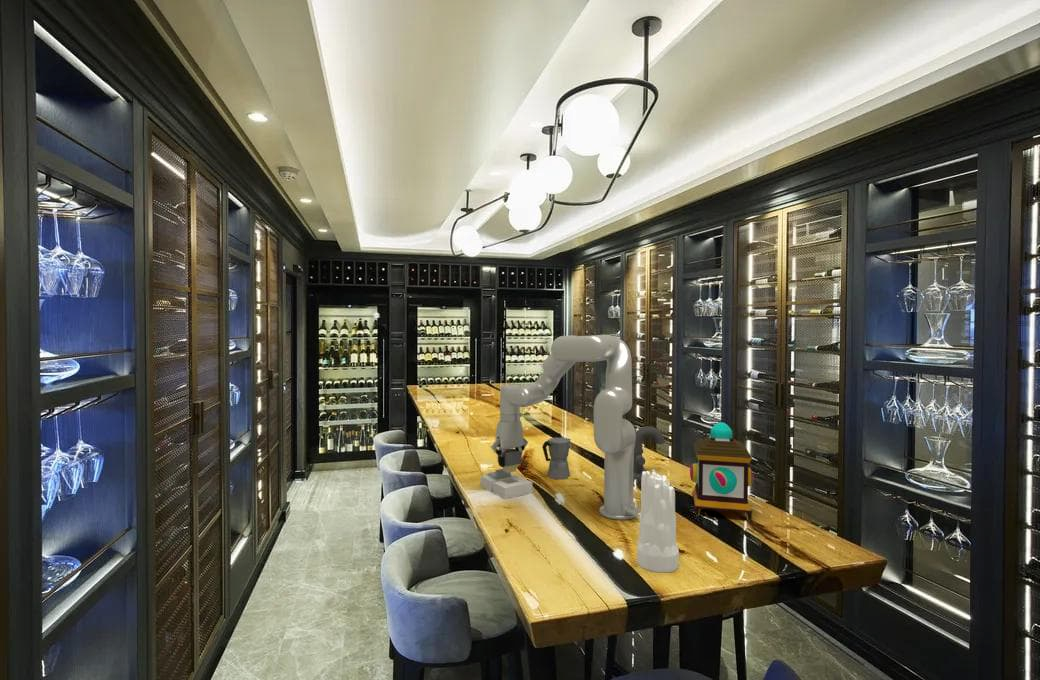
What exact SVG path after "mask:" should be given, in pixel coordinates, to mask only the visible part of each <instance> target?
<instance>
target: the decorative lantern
mask: <svg viewBox="0 0 1040 680" xmlns="http://www.w3.org/2000/svg"><path fill="white" fill-rule="evenodd" d="M693 447H694V452H695V456H696V462H695V463H692V464H691V465H690V468H689V476H690V477H689V478H690V480H691V482H692V483H695V484H694V485H695V486H694V487H693V489H692V492H691V493H692V499H693V505H694V514H695V516H696V517H699V516H700V512H701V510H702V509H703V510H712V511H713V510H715V511H725V512H726V511H727V512H737V513H744V514H745V515H746V520H747V521H748V522H750V521H752V517H753V510H752V507H751V505H750V503H749V498H748V497H749V488H750V486H752V484H753V483H754V474H753V470H752V468H751V467H749V464H750V463H751V461H752V455H751V454H750V452H749V450H748V449H747V447H746V446H745V445H744V443H742V442H741V441H740V440H737V439H735V438H734V437H733V430H732V429H731V427H730V426H729V425H728V424H727V423H725V422H717V423H715V424H714V425H713V426H712V427H711V428H710V434H709V435H707V436H706V437H704V438H698V439H697V440H695V441H694V443H693Z"/></svg>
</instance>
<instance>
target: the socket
mask: <svg viewBox="0 0 1040 680" xmlns="http://www.w3.org/2000/svg"><path fill="white" fill-rule="evenodd" d="M510 474H511V476H510V477H505V478H500V479H495V478H493V477H490V476H488V475H487V474H484V475H480V487H481V488H483V489H485V490H487V491H489V492H491V493H493V494H494V495H497V496H499V497H501V498H503V499H504V500H507V499H511V498H515V497H516V496H517V497H520V495H521V496H524V494H526V495H529V493H530V494H533V481H531V480H528V479H525V478H523V477H521V476H519V475H517V474H514V473H513V472H510Z"/></svg>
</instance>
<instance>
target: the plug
mask: <svg viewBox="0 0 1040 680" xmlns="http://www.w3.org/2000/svg"><path fill="white" fill-rule="evenodd" d="M503 456H504V457H505V467H502V469H503V471H505V472H507V473H515V472H517V465H521V464H523V459H522V457H523V453H522V452H521V451H518V450H515V448H510V449H506V450H505V453H504V455H503Z"/></svg>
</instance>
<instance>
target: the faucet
mask: <svg viewBox="0 0 1040 680" xmlns="http://www.w3.org/2000/svg"><path fill="white" fill-rule="evenodd" d="M635 434H636V439H635V447H634V460H633V480H641V478H642V472H643V471H645V472H646V471H647V469H646V468H645V466H644V465H645V464H646V461H647V460H646V458H645V457H644V456H643V454H644V449H643V441H644V439H646V438H651V439H652V440H653V443H655V444H658V445H664V444H665V442H666V441H665V437H664V435H663V433H662V432H661V431H660V430H659V429H658V428H656V427H653V426H651V425H649V426H648V425H647V426H642V427H640V428H638V429H637V430H635Z"/></svg>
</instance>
